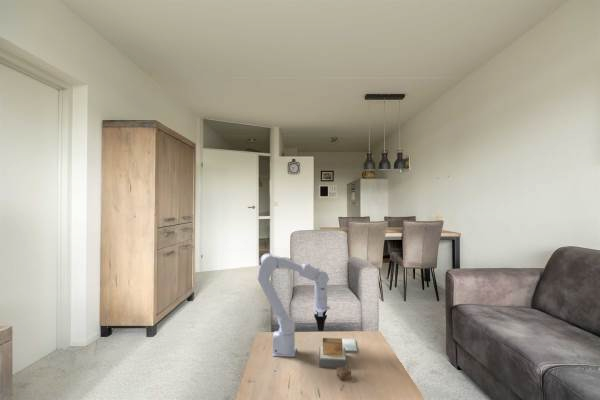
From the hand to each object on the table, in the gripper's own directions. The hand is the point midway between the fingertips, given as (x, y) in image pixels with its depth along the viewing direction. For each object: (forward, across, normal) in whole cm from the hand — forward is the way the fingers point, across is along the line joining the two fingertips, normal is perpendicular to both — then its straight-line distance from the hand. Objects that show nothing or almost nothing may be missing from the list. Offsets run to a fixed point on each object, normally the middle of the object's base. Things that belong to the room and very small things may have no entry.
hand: (321, 327), depth 136 cm
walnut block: (+10, -23, -9) cm, 27 cm away
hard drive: (+10, +3, -12) cm, 16 cm away
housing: (+6, -11, -5) cm, 13 cm away
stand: (+9, -11, -5) cm, 15 cm away
